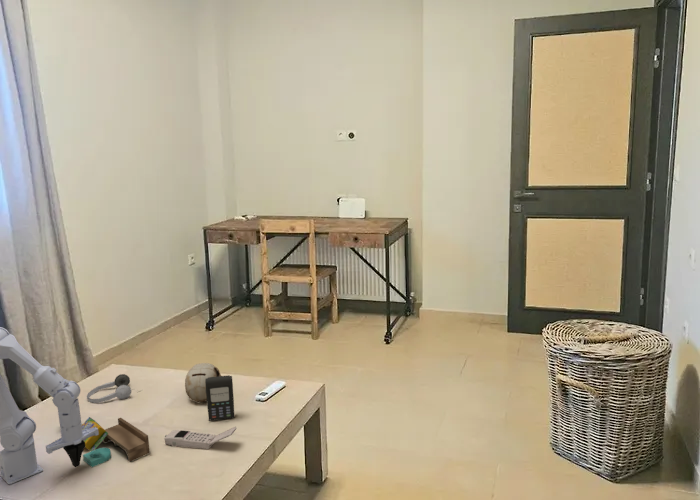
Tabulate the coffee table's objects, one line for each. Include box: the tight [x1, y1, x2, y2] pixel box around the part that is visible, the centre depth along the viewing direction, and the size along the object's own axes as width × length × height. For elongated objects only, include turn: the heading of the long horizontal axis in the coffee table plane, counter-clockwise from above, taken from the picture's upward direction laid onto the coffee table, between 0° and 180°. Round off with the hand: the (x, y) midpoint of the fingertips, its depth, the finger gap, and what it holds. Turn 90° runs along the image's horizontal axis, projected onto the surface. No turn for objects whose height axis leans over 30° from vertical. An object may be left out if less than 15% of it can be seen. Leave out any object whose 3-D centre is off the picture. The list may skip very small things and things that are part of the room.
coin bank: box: [184, 362, 222, 404], centre depth 223 cm, size 16×17×13 cm
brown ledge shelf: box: [102, 417, 151, 462], centre depth 187 cm, size 6×18×6 cm, turn 47°
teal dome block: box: [82, 447, 112, 468], centre depth 181 cm, size 7×6×2 cm
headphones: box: [86, 373, 143, 404], centre depth 225 cm, size 17×6×20 cm
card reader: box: [205, 374, 235, 422], centre depth 204 cm, size 9×4×15 cm, turn 101°
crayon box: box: [82, 416, 108, 452], centre depth 190 cm, size 7×3×12 cm
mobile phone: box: [163, 426, 237, 450], centre depth 188 cm, size 6×6×25 cm
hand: (76, 465), depth 176 cm, fingers closed
